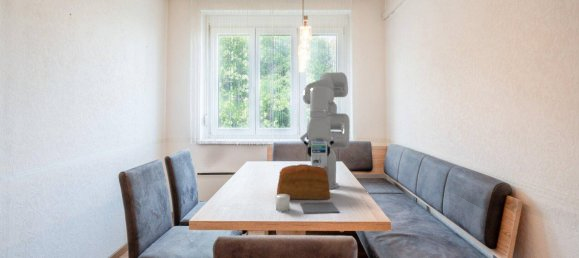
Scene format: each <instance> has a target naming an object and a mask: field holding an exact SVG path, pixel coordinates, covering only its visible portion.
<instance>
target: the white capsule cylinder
mask: <svg viewBox="0 0 579 258" xmlns="http://www.w3.org/2000/svg"><path fill="white" fill-rule="evenodd" d="M290 201H291V199H290V196H289V195H287V194H278V195H277V194H276V195H275V211H277V212H280V213H286V212H289V211H290V208H291V207H290V204H291V203H290Z"/></svg>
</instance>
